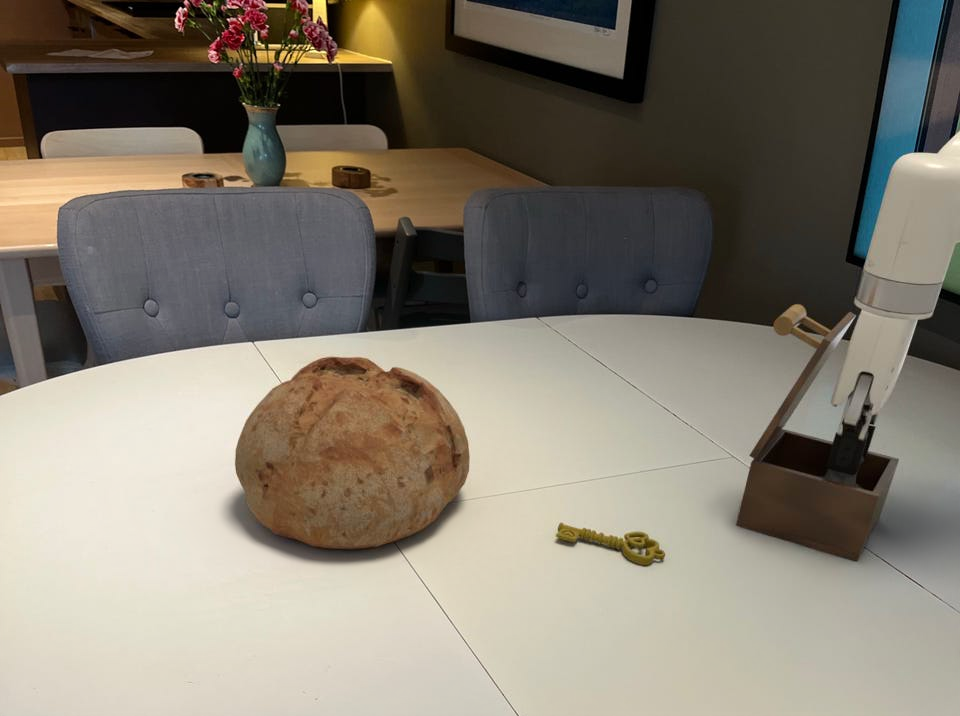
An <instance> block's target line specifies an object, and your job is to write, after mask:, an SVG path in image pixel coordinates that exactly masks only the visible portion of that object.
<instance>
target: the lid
mask: <svg viewBox="0 0 960 716" xmlns="http://www.w3.org/2000/svg"><path fill="white" fill-rule="evenodd" d="M856 317H857V315H856V314H855V313H853V312H851V311H849V312H848V313H847V314H846V315H845V316H844V317H843V318H842V319H841V320H840V321H839V322H838V323H836V325H835V326H834V327H833V328H832V329H830V328H827V327H826V326H824V325H822V324H821V323H819V322H817V321H815V320H814V319H813V318H810V317H809V316H808V315H807V310H806V308H805V307H804V305H802V304H799V303H797V304H793V305H791V306H790V307H789V308H787V309H786V310H785V311H784V312H782V314H780V315H779V316H778V317H777V318H776V319H775V320H774V322H773V331H774V332H775V334H777V335H778V336H782V337H784V336H785V337H786V336H787V335H789V334H790V335H792V336H793V337H795V338H797V339H798V340H800V341H802V342H803V343H805V344H807V345H809V346H810V347H812V348H814V349H815V351H814V353H813V354H812V356H811V358H810V359H809V361H808V362H807V364H806V366H805V367H804V368H803V371H802V372H801V373H800V375H799V377H798V378H797V380H796V381H795V383H794V384H793V386H792V388H791V389H790V390H789V392H788V394H787V395H786V397H785V399H784V400H783V402H782V403H781V404H780V406H779V408H778V410H777V411H776V413H775V414H774V416H773V418H772V419H771V421H770V422H769V424H768V425H767V427H766V429H765V430H764V432H763V433H762V435H761V436H760V438H759V440H758V441H757V442H756V444H755V446H754V447H753V449H752V450H751V452H750V453H749V457H750V458H752V459H756V458H757V457H758V456H759V455H760V454H761V453H762V451H763V450H764V449H765V448H766V447H767V446H768V444H769V443H770V442H771V441H772V440H773V439H774V437H775V436H776V435H777V434H778V433H779V432H780V430H781V429H784V427H785V426H786V424H787V423H788V422H789V420H790V419H791V417H792V415H793V413H794V412H795V411H796V409H797V408H798V406H799V404H800V403H801V401H802V400H803V399H804V397H805V395H806V394H807V392H808V390H809V389H810V388H811V386H812V384H813V383H814V381H815V380H816V378H817V377H818V375H819V374H820V372H821V370H822V369H823V368H824V366H825V364H826V363H827V361H828V360H829V358H830V357H831V355H832V353H833V352H834V350H835V349H836V348H837V346H838V344H839V343H840V341H841V340H842V338H843V337H844V335H845V334H846V332H847V330H848V329H849V327H850V326H851V324H852V323H853V321H854V320H855V318H856ZM800 324H802V325H803V326H805V327H807V328H809V329H811V330H812V331H813V332H815V333H817V334H819V335H820V336H822V337H823V339H822V340H820V339H818V338H816V337H815V336H813V335H811V334H809V333H807V332H806V331H804V330H803V329H801V328H799V327H798V326H800Z"/></svg>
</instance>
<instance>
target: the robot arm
mask: <svg viewBox="0 0 960 716" xmlns="http://www.w3.org/2000/svg"><path fill="white" fill-rule="evenodd" d="M886 182H887V183H886V185H885V190H884V193H883V197H882V199H881V203H880V208H879V211H878V215H877V219H876V222H875V226H874V229H873V232H872V237H871V240H870V243H869V247H868V251H867V255H866V258H865V262H864V264H863V269H862V270H861V276H860V279H859V282H858V286H857V289H856V293H855V297H854V301H853V304H854V305H855V306H856V307H857V308H859V309H861V311H860V313H859V315H858V318H857V320H856V323H855V325H854V329H853V331H852V333H851V337H850V340H849V342H848V345H847V349H846V352H845V354H844V355H845V356H844V359H843V361H842V364H841V368H840V371H839V374H838V378H837V381H836V384H835V386H834V390H833V393H832V395H831V399H830V404H831V405H832V407H834V408H836V407H838V406H840V407H841V406H842V405H843V404H844V402H845V401H846V400H847V401H846V403H845V407H844V409H843V411H842V416H841V419H840V422H839V425H838V429H837V431H836V432H835V435H834V438H833V441H832V442H833V445H832V448H831V451H830V455H829V458H828V462H827V468H828V469H831V470H835V471H838V472H842V473H846V474H850V475H855V474H856V473H857V471H858V468H859V465H860V462H861V458H862V456H863V457H864V460H865V458H866V456H867V453H868V451H869V449H870V446H871V442H872V440H873V437H874V434H875V430H876V426H875V424H876V422H877V419H878V415H879V413H880V411H881V410H882V409H883V407H884V406H885V405H886V404H887V401H888V400H889V398H890V396H891V395H892V392H893V390H894V388H895V386H896V384H897V381H898V378H899V376H900V373H901V372H902V368H903V365H904V363H905V360H906V357H907V354H908V351H909V348H910V345H911V342H912V339H913V336H914V333H915V330H916V326H917V324H918V320H919V321H920V320H927V319H930V318H931V317H933V314H934V311H935V308H936V305H937V302H938V299H939V295H940V293H941V289H942V287H943V283H944V280H945V277H946V274H947V271H948V269H949V266H950V263H951V259H952V256H953V254H954V250H955V247H956V244H958V243H960V130H959V131H958V132H956V134H955V135H954V136H952V137H951V138H950V139H949V140H948V142H946V143H945V144H944V145H943V146H942V147H941V149H939V151H938V152H936V153H933V152H910V153H907V154H903V155H901V156H900V157H899V158H898V159H897V160H896V161H895V162H894V164H893V165H892V167H891V169H890V173H889V175H888V179H887V181H886ZM860 418H861V420H860ZM867 430H868V437H867V439H865V436H866V433H867Z"/></svg>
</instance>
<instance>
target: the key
mask: <svg viewBox="0 0 960 716" xmlns="http://www.w3.org/2000/svg"><path fill="white" fill-rule="evenodd" d="M555 537H556V538H557V539H560V540H563V541H568V542H570V543H575V542H577V540H578V539H580V540H584V541H586V542H588V541H589V542H590V543H593V542H596V543H597V545H602V544H604V545H606V547H608V548H612V549H615V548H616V550H617V551H619V550H621V552H622V554H623V555H624V557H625V558H626V559H627V560H628V561H631V562H632V563H635V564H638V565H640V566H641V565H642V566H648V565H651V564H652V563H653V562H654V560H658V561H659V560H663V559H665V558H666V552H665V551H664V550H663V549H661V548H660V544H659V542H658V541H657V540H656V539H652V538H650V537H649V534H648V533H647V532H644V531H631V532H627V533H624V536H623V538H622V537H618V536H616V535H615V536H613V534H610V535H608V536H607V535H605V534H604V533H603V532H599V533H597V532H596V530H592V529H591V528H586V527H583V528H578V527H574V526H572V525H567V524H564V522H559V524H558V526H557V533H556V535H555ZM631 548H635V549H643V548H645V552H644V553H645V555H642V554H639V553H637V552H636V551H633V550H632V549H631Z"/></svg>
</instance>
